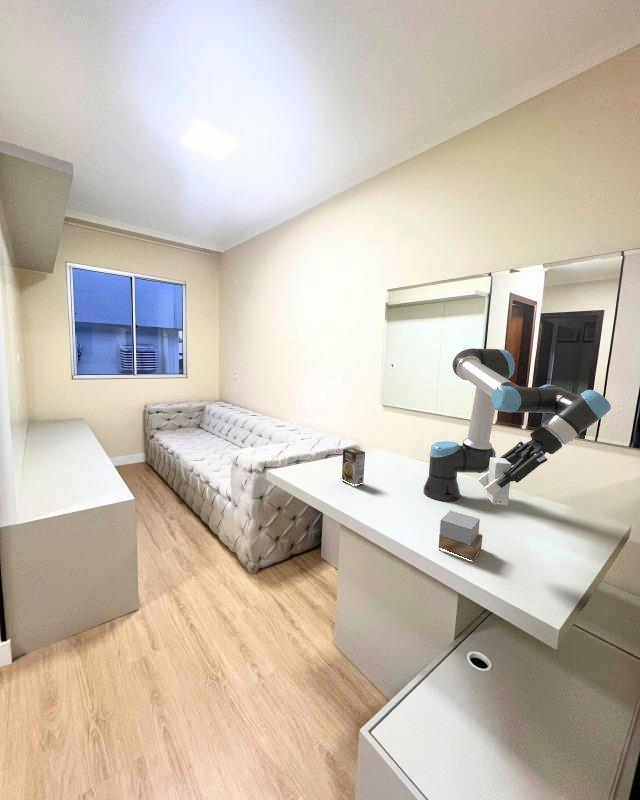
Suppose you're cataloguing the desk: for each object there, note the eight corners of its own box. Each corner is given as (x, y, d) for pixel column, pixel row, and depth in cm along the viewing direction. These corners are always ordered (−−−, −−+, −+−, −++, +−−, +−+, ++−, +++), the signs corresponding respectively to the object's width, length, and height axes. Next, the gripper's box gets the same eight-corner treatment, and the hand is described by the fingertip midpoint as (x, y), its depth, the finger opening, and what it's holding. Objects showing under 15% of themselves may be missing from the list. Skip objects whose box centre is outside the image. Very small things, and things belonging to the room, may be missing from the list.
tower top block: (439, 535, 106) (440, 519, 105) (449, 524, 113) (450, 510, 112) (470, 545, 100) (471, 529, 100) (478, 534, 107) (479, 518, 107)
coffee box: (341, 481, 164) (342, 448, 163) (351, 479, 168) (352, 447, 166) (353, 487, 157) (355, 453, 155) (364, 484, 161) (365, 451, 159)
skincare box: (508, 505, 96) (512, 464, 94) (492, 504, 97) (495, 462, 95) (501, 497, 102) (504, 457, 100) (485, 495, 102) (489, 456, 101)
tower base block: (438, 551, 106) (439, 535, 105) (449, 538, 114) (450, 524, 113) (472, 563, 100) (473, 547, 99) (481, 549, 107) (482, 534, 107)
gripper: (581, 454, 85) (505, 511, 90) (544, 437, 104) (483, 485, 108) (560, 432, 86) (485, 490, 90) (527, 419, 104) (466, 467, 109)
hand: (484, 487), depth 99 cm, fingers closed on skincare box, 6 cm apart
